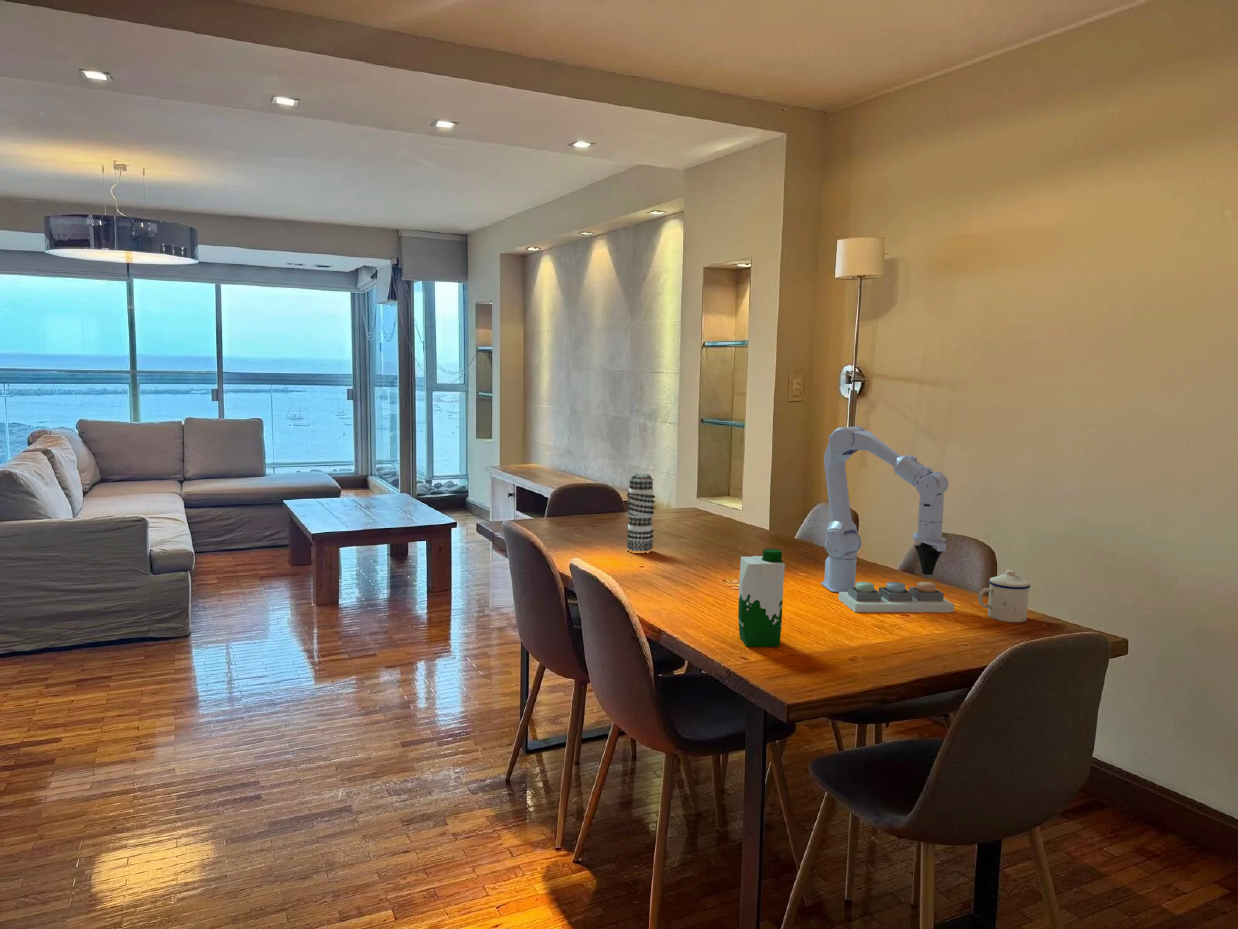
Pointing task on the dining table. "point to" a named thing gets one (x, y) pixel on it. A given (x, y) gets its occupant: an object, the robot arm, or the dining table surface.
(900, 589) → the dusty blue button
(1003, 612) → the teacup with lid
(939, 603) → the button console
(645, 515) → the decorative candle
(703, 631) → the dining table surface
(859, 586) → the sage button
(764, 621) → the milk carton
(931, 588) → the terracotta button
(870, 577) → the dining table surface
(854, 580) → the robot arm
